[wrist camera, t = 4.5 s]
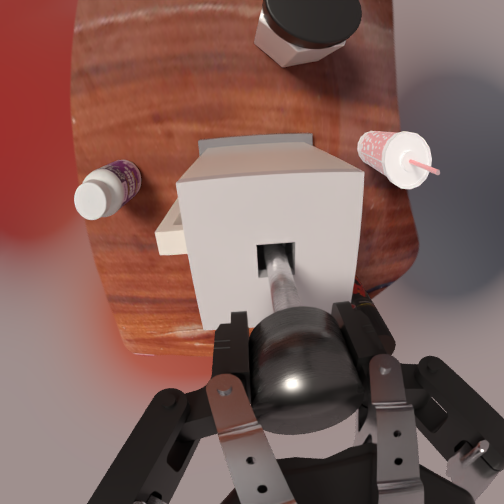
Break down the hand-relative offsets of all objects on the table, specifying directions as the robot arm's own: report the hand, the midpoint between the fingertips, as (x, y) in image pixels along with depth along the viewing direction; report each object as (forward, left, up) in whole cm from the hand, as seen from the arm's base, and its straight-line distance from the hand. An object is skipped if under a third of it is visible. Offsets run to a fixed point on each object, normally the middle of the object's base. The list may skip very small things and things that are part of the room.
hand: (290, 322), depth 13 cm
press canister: (0, -1, -24) cm, 24 cm away
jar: (-19, +5, -25) cm, 31 cm away
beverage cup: (-5, +15, -25) cm, 29 cm away
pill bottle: (-3, -17, -25) cm, 30 cm away
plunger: (0, 0, -11) cm, 11 cm away
